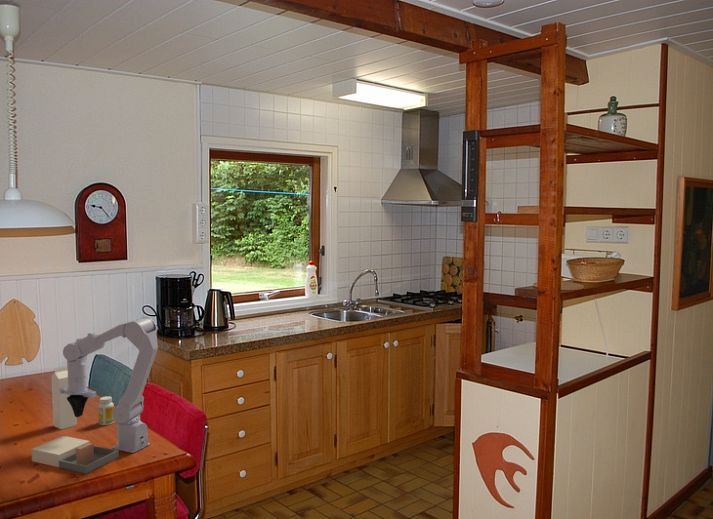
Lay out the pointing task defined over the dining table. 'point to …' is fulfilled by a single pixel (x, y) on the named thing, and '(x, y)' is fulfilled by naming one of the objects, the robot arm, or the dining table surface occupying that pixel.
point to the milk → (61, 401)
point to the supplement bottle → (105, 411)
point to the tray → (100, 459)
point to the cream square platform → (56, 450)
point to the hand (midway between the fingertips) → (78, 416)
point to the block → (85, 453)
